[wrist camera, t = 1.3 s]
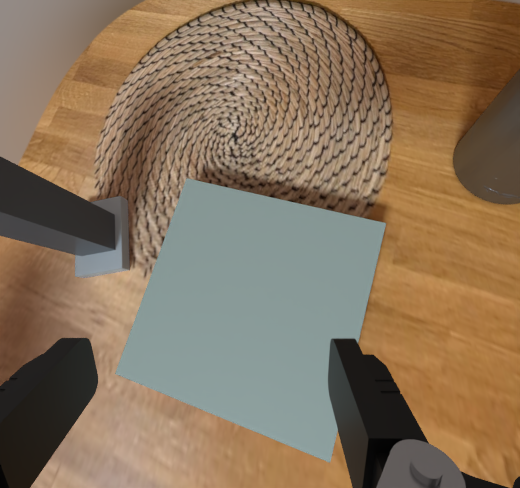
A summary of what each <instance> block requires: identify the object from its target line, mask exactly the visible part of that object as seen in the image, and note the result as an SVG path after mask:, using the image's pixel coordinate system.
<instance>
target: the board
mask: <svg viewBox="0 0 520 488" xmlns="http://www.w3.org/2000/svg"><path fill="white" fill-rule="evenodd" d="M385 226H386V223H383V222H378V221H374V220H370V219H365V218H361V217H356V216H352V215H347V214H343V213H338V212H334V211H330V210H325V209H321V208H316V207H312V206H307V205H303V204H298V203H294V202H290V201H285V200H281V199H276V198H272V197H267V196H263V195H258V194H254V193H250V192H245V191H241V190H236V189H232V188H227V187H223V186H219V185H214V184H210V183H205V182H201V181H196V180H192V179H186V182H185V184H184V187H183V190H182V193H181V195H180V198H179V201H178V204H177V206H176V209H175V212H174V215H173V217H172V220H171V223H170V225H169V228H168V231H167V234H166V236H165V239H164V242H163V245H162V247H161V250H160V253H159V255H158V258H157V261H156V264H155V266H154V269H153V272H152V275H151V277H150V280H149V283H148V286H147V288H146V291H145V294H144V296H143V299H142V302H141V305H140V307H139V310H138V313H137V316H136V318H135V321H134V324H133V326H132V329H131V332H130V335H129V337H128V340H127V343H126V346H125V348H124V351H123V354H122V357H121V359H120V362H119V365H118V367H117V370H116V373H115V374H117V375H119V376H122V377H124V378H127V379H129V380H132V381H134V382H136V383H139V384H141V385H144V386H146V387H148V388H151V389H153V390H156V391H158V392H161V393H163V394H165V395H168V396H170V397H173V398H175V399H177V400H180V401H182V402H185V403H187V404H190V405H192V406H194V407H197V408H199V409H202V410H204V411H206V412H209V413H211V414H214V415H216V416H219V417H221V418H223V419H226V420H228V421H231V422H233V423H235V424H238V425H240V426H243V427H245V428H248V429H250V430H252V431H255V432H257V433H260V434H262V435H264V436H267V437H269V438H272V439H274V440H277V441H279V442H281V443H284V444H286V445H289V446H291V447H294V448H296V449H298V450H301V451H303V452H306V453H308V454H310V455H313V456H315V457H318V458H320V459H323V460H325V461H327V462H330V461H331V456H332V452H333V448H334V444H335V439H336V435H337V431H338V428H337V424H336V420H335V416H334V412H333V409H332V405H331V401H330V397H329V390H328V367H329V352H330V341H331V339H332V338H354V339H356V341H357V343H358V341H359V337H360V332H361V328H362V324H363V320H364V315H365V311H366V307H367V303H368V298H369V294H370V290H371V286H372V281H373V277H374V273H375V268H376V264H377V260H378V256H379V251H380V247H381V243H382V239H383V234H384V230H385Z"/></svg>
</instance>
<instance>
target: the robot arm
mask: <svg viewBox="0 0 520 488" xmlns="http://www.w3.org/2000/svg"><path fill="white" fill-rule="evenodd" d="M453 164H454V169H455V173H456V175H457V177H458V179H459V181H460V182H461V183H462V185H463V186H464V187H465V188H466V189H467V190H468V191H470V192H471V193H472V194H474V195H475V196H477V197H479V198H481V199H483V200H486V201H489V202H493V203H498V204H517V203H520V69H519V70H518V71H517V73H516V74H515V75H514V76H513V77H512V79H511V80H510V81H509V82H508V83H507V85H506V86H505V87H504V88H503V89H502V91H501V92H500V93H499V94H498V95H497V97H496V98H495V99H494V100H493V101H492V103H491V104H490V105H489V106H488V107H487V109H486V110H485V111H484V112H483V113H482V114H481V116H480V117H479V118H478V119H477V120H476V122H475V123H474V125H473V126H472V127H471V128H470V130H469V131H468V132H467V133H466V134H465V136H464V137H463V138H462V139H461V140H460V142H459V143H458V145H457V147H456V149H455V152H454V157H453ZM97 384H98V374H97V369H96V365H95V360H94V355H93V351H92V346H91V342H90V341H89V339H87V338H62V339H60V340H58V341H57V342H56V343H55V344H54V345H53V346H52V347H51V348H50V349H49V350H48V351H46V352H45V353H44V354H42V355H40V356H38V357H37V358H35V359H33V360H32V361H30V362H28V363H26V364H25V365H23V366H22V367H21V368H20V369H19V370H18V371H17V372H16V373H15V374H13V375H12V376H11V377H10V379H9V381H6V382H5V383H3V384H2V385H1V386H0V488H30V487H31V485H32V484H33V483H34V481H35V480H36V478H37V477H38V475H39V474H40V472H41V471H42V470H43V468H44V467H45V465H46V464H47V462H48V461H49V459H50V458H51V457H52V455H53V454H54V452H55V451H56V449H57V448H58V446H59V445H60V444H61V442H62V441H63V439H64V438H65V436H66V435H67V433H68V432H69V431H70V429H71V428H72V426H73V425H74V423H75V422H76V420H77V419H78V418H79V416H80V415H81V413H82V412H83V410H84V409H85V407H86V406H87V405H88V403H89V402H90V400H91V399H92V397H93V396H94V394H95V391H96V389H97ZM328 390H329V397H330V401H331V405H332V409H333V412H334V416H335V420H336V424H337V428H338V432H339V436H340V440H341V444H342V448H343V451H344V455H345V459H346V463H347V467H348V471H349V475H350V479H351V483H352V487H353V488H508V487H505V486H501V485H498V484H495V483H492V482H488V481H485V480H482V479H479V478H475V477H473V476H470V475H467V474H465V473H463V472H461V471H460V470H459V468H458V467H457V466H456V464H455V463H454V462H453V461H452V460H451V459H450V458H449V457H448V456H447V455H446V454H445V453H444V452H442V451H441V450H439V449H438V448H436V447H434V446H433V445H431V444H429V443H428V441H427V439H426V437H425V436H424V434H423V432H422V430H421V428H420V426H419V425H418V423H417V421H416V419H415V417H414V416H413V414H412V412H411V410H410V408H409V407H408V405H407V403H406V401H405V399H404V397H403V396H402V394H400V390H399V388H398V387H397V385H396V383H395V382H394V379H393V378H392V376H391V374H390V372H389V370H388V368H387V367H386V366H385V365H384V364H383V363H382V362H381V361H380V360H379V359H378V358H376V357H375V356H374V355H363V354H362V351H361V349H360V347H359V345H358V343H357V341H356V339H354V338H332V339H331V341H330V352H329V367H328ZM513 488H520V477H518V478H517V479H516V480H515V482H514V485H513Z"/></svg>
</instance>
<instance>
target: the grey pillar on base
mask: <svg viewBox="0 0 520 488" xmlns="http://www.w3.org/2000/svg"><path fill="white" fill-rule="evenodd" d="M0 236H4V237H8V238H12V239H15V240H19V241H23V242H27V243H31V244H35V245H39V246H43V247H47V248H51V249H55V250H59V251H63V252H66V253H70V254H74V255H75V277H81V278H88V277H93V276H99V275H105V274H110V273H116V272H122V271H127V270H130V260H129V225H128V200H126V199H125V198H123V197H122V196H117V197H113V198H108V199H103V200H98V201H94V202H89V201H87V200H85V199H83V198H81V197H79V196H77V195H75V194H73V193H71V192H69V191H67V190H65V189H63V188H61V187H59V186H57V185H55V184H53V183H51V182H49V181H47V180H46V179H44V178H42V177H40V176H38V175H36V174H34V173H32V172H30V171H28V170H26V169H24V168H22V167H20V166H18V165H16V164H14V163H12V162H10V161H8V160H6V159H4V158H2V157H0Z"/></svg>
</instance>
